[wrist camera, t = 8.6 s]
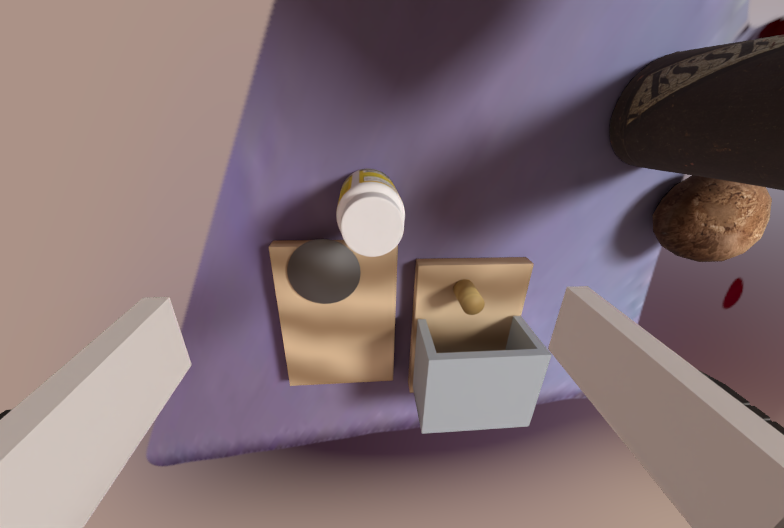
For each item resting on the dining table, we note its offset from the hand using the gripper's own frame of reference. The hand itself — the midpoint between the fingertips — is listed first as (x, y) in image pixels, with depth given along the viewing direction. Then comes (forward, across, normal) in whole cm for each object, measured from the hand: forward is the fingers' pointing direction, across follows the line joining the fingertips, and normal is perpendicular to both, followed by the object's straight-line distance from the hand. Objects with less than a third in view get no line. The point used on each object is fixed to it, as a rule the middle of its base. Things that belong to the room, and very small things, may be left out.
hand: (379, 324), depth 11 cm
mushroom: (+18, +30, -1) cm, 35 cm away
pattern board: (+18, +10, -14) cm, 25 cm away
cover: (+16, +10, -16) cm, 25 cm away
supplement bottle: (+18, 0, 0) cm, 18 cm away
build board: (+18, -3, -12) cm, 22 cm away
